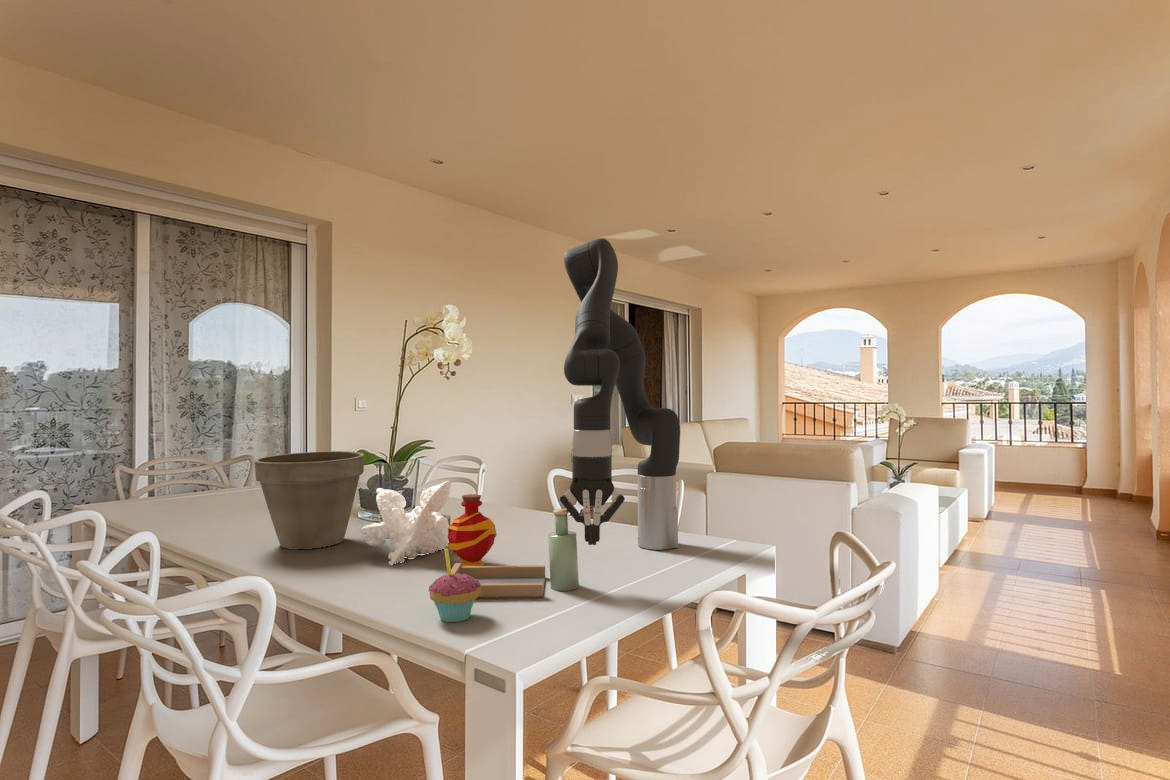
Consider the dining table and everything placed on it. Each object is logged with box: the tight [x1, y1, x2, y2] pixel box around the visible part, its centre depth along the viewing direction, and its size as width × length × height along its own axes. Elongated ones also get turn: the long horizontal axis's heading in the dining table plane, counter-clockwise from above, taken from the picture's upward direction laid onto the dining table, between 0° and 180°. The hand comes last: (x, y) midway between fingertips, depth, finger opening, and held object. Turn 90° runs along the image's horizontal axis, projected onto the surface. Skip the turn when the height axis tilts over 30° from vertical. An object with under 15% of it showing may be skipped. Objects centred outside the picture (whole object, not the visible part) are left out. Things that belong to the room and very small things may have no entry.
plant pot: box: [253, 450, 365, 550], centre depth 161 cm, size 25×25×22 cm
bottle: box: [547, 508, 580, 592], centre depth 124 cm, size 5×5×15 cm
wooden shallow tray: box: [451, 562, 546, 600], centre depth 124 cm, size 18×13×3 cm
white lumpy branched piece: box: [359, 480, 452, 565], centre depth 150 cm, size 19×20×20 cm
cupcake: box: [428, 544, 482, 623], centre depth 108 cm, size 9×8×12 cm
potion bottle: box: [447, 493, 498, 566], centre depth 140 cm, size 10×10×15 cm
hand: (591, 543), depth 124 cm, fingers closed
